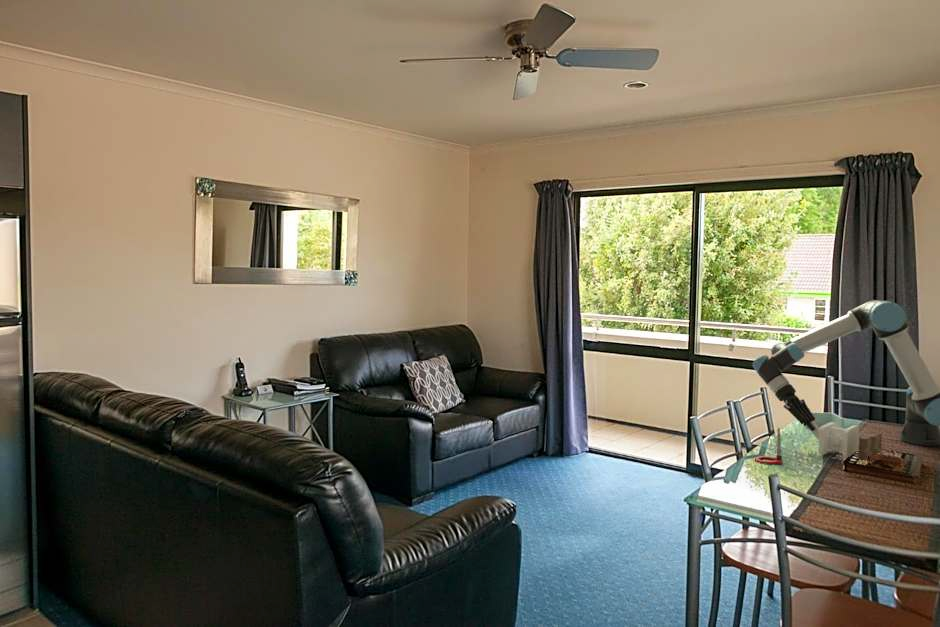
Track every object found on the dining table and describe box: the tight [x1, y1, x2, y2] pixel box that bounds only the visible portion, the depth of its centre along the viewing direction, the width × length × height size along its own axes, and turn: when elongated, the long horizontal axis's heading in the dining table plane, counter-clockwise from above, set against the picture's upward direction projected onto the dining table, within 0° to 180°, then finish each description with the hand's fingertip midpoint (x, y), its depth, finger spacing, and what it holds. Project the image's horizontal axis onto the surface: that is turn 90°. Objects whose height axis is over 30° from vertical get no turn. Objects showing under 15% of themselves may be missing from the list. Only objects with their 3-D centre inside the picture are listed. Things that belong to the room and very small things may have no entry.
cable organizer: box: [818, 422, 860, 458], centre depth 265 cm, size 15×11×12 cm
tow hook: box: [754, 427, 783, 465], centre depth 256 cm, size 8×13×9 cm
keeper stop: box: [858, 432, 883, 460], centre depth 260 cm, size 14×13×10 cm
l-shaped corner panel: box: [804, 411, 845, 429], centre depth 305 cm, size 12×12×8 cm
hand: (821, 436), depth 270 cm, fingers closed
